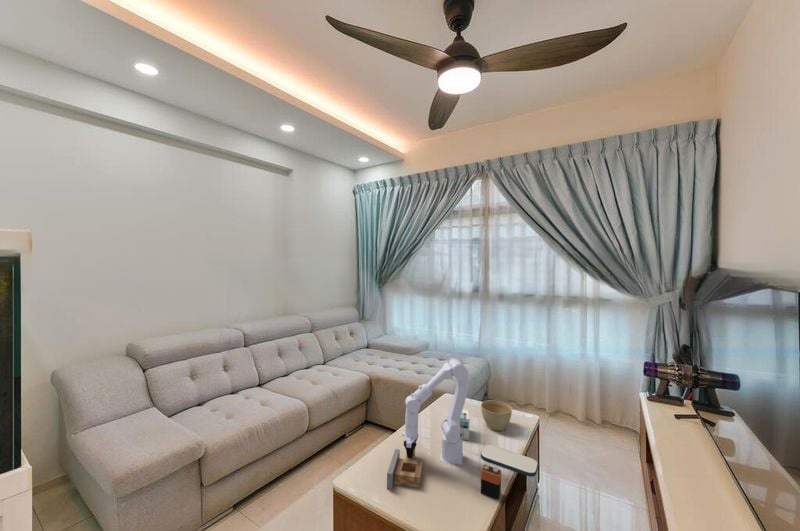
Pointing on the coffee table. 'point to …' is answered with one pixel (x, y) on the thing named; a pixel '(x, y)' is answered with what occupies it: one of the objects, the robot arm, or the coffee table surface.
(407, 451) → the robot arm
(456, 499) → the coffee table surface
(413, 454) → the oak dowel
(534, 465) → the white teal rounded slab
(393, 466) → the slate stop wall
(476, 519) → the coffee table surface
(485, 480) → the battery
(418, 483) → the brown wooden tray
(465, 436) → the light bulb box
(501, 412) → the planter bowl
